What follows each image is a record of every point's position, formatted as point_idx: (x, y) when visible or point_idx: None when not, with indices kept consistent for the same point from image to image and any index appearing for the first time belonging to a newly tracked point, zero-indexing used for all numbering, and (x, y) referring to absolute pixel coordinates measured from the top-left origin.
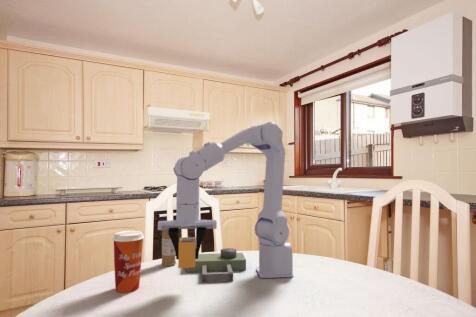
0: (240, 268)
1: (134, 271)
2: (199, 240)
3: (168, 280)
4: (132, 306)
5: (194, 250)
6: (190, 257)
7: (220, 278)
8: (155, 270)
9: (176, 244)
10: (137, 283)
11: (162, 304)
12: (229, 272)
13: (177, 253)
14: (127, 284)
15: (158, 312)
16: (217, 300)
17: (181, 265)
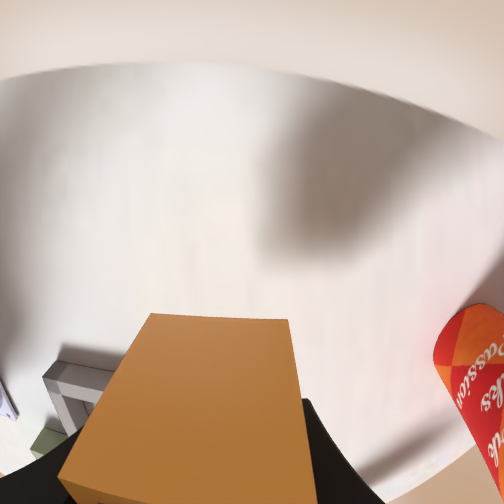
0: (56, 435)
1: (496, 355)
2: (27, 489)
3: (319, 410)
4: (456, 172)
5: (105, 405)
6: (168, 363)
7: (93, 375)
8: (358, 474)
9: (337, 501)
10: (452, 343)
11: (345, 162)
12: (56, 389)
13: (308, 430)
14: (490, 317)
15: (353, 86)
16: (90, 175)
17: (262, 326)
